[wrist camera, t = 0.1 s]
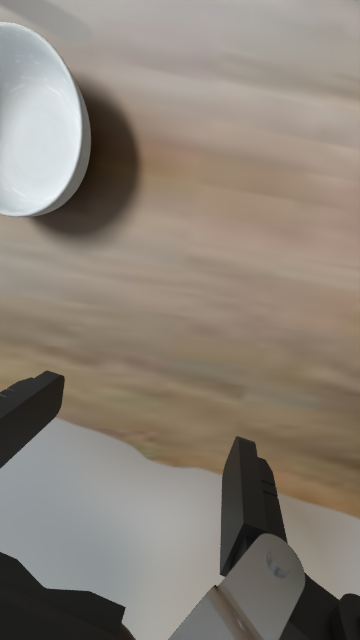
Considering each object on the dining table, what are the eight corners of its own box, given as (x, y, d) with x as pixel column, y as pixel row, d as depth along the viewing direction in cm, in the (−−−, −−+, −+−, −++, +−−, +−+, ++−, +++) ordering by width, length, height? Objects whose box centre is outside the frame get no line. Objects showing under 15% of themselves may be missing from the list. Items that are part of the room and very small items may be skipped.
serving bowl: (118, 75, 34) (92, 31, 27) (98, 236, 39) (72, 231, 33) (-17, 53, 36) (-72, 7, 29) (-18, 208, 42) (-63, 199, 35)
